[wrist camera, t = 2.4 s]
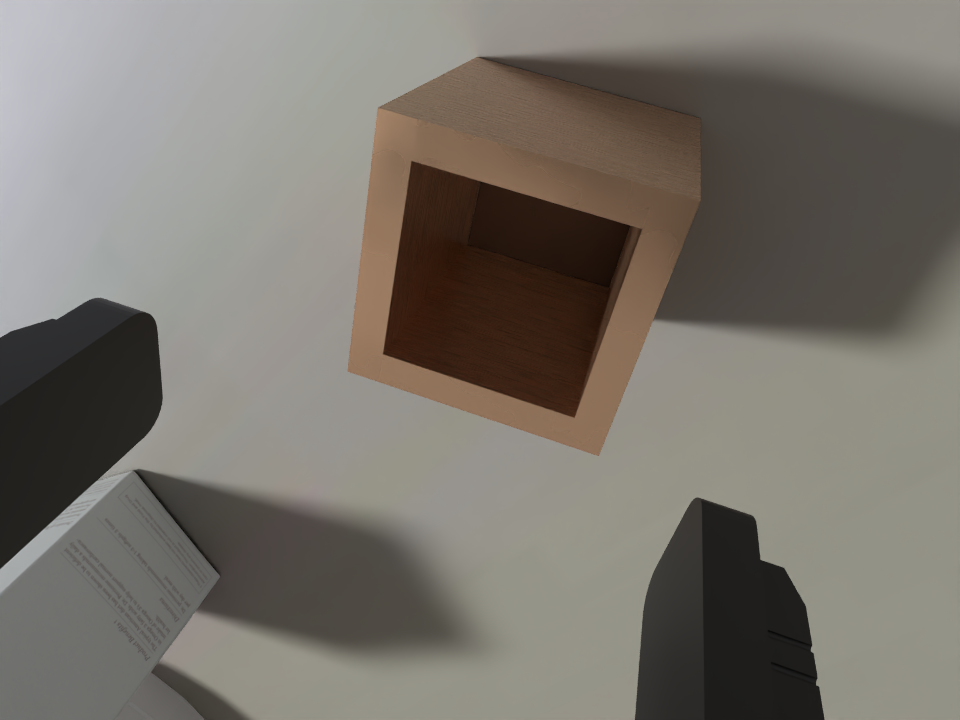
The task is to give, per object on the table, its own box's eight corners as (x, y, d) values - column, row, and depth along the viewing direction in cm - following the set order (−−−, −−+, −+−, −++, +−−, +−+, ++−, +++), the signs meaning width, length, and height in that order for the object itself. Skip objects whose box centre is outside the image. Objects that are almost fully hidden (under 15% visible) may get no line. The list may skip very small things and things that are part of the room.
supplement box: (42, 493, 35) (-239, 727, 24) (137, 465, 32) (-137, 721, 21) (130, 595, 38) (-88, 845, 27) (227, 579, 34) (22, 856, 24)
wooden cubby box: (700, 118, 18) (700, 200, 12) (626, 317, 21) (598, 455, 16) (477, 57, 19) (377, 107, 13) (439, 259, 22) (347, 371, 16)
